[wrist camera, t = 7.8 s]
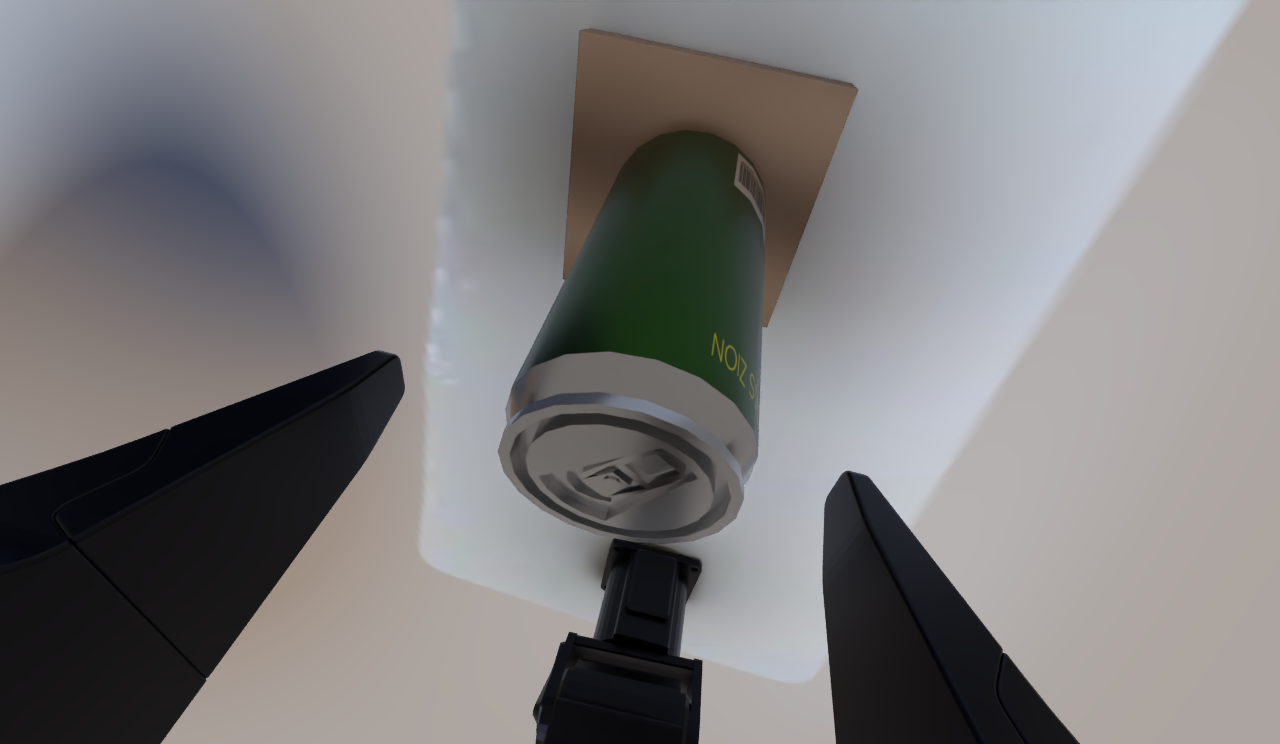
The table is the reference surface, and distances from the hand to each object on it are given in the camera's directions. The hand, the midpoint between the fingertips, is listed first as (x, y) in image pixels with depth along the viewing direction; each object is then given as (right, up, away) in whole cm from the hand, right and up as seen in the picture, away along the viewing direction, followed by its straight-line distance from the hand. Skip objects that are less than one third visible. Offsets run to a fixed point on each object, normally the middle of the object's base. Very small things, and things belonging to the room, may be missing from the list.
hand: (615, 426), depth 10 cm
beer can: (+2, +8, +8) cm, 11 cm away
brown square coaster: (+3, +9, +10) cm, 14 cm away
